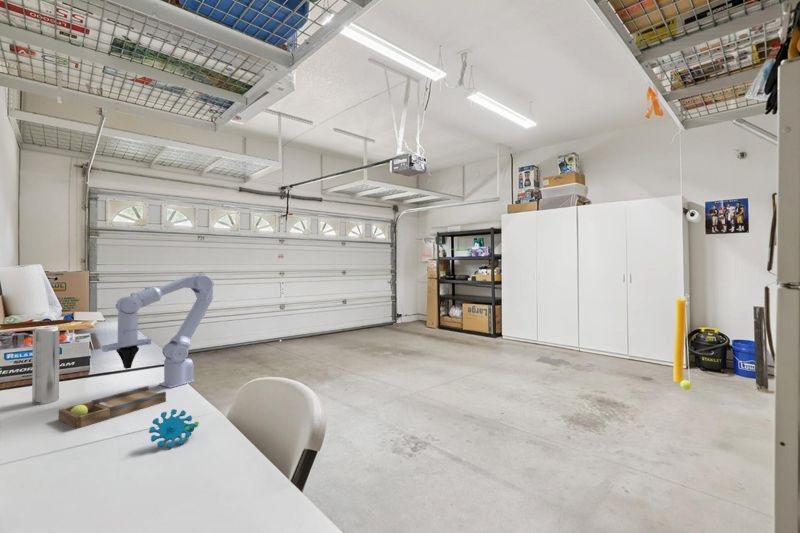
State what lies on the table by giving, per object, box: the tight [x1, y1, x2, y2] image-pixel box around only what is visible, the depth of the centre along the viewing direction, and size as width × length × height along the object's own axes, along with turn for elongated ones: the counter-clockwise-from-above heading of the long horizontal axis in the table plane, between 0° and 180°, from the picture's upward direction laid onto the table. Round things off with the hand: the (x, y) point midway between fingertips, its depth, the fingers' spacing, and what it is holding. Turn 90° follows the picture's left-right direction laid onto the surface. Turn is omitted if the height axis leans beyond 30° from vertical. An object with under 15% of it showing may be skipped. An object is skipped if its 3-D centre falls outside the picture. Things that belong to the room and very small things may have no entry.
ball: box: [70, 404, 88, 416], centre depth 108 cm, size 4×4×4 cm
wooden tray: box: [58, 385, 167, 430], centre depth 115 cm, size 24×12×3 cm, turn 151°
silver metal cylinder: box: [31, 325, 60, 406], centre depth 122 cm, size 6×6×25 cm
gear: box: [148, 408, 200, 449], centre depth 96 cm, size 11×6×10 cm
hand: (127, 367), depth 130 cm, fingers closed
